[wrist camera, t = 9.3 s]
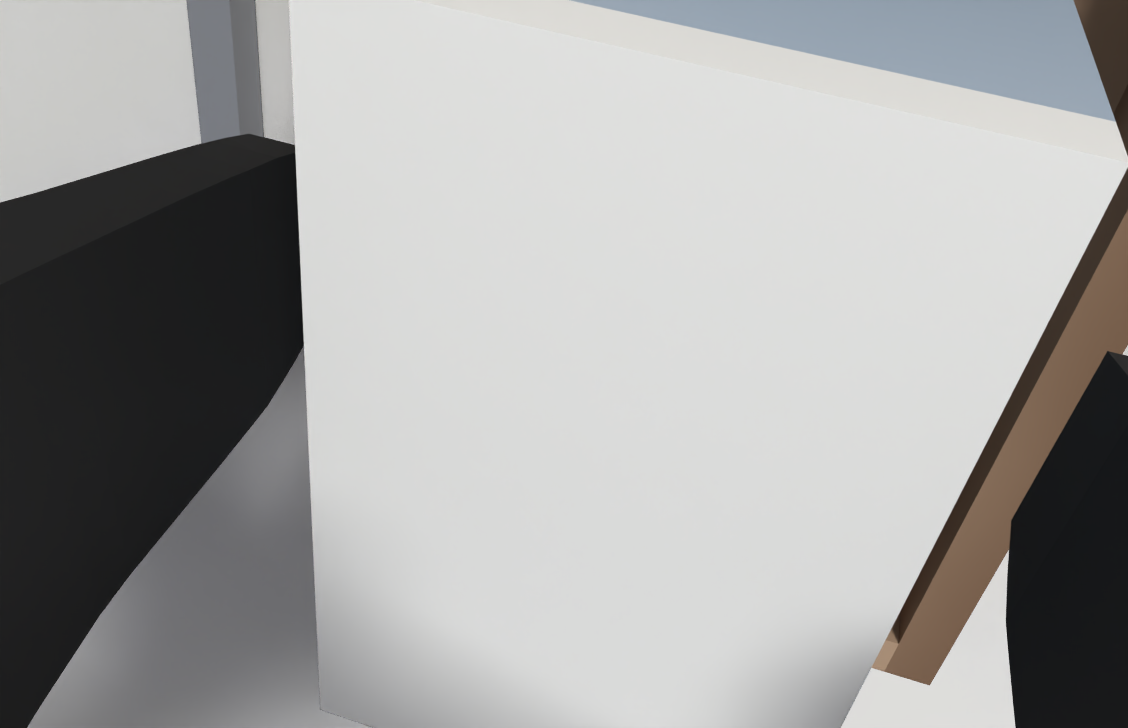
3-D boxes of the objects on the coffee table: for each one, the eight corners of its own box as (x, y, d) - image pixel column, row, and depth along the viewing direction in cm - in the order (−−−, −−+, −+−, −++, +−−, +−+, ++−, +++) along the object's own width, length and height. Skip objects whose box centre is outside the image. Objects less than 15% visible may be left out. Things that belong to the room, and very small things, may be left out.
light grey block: (514, 354, 15) (319, 709, 10) (579, -201, 10) (287, -30, 6) (824, 439, 14) (771, 861, 9) (1034, -113, 10) (1130, 163, 5)
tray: (396, 397, 17) (327, 501, 15) (421, -492, 10) (297, -513, 8) (929, 549, 16) (929, 685, 14) (1385, -343, 9) (1517, -324, 7)
